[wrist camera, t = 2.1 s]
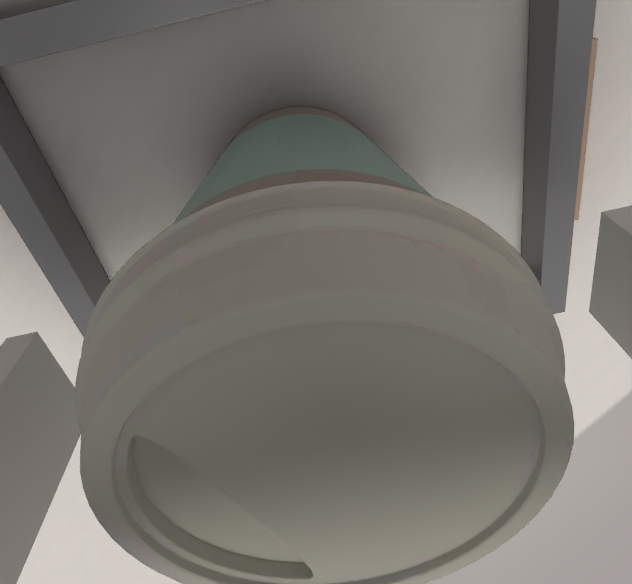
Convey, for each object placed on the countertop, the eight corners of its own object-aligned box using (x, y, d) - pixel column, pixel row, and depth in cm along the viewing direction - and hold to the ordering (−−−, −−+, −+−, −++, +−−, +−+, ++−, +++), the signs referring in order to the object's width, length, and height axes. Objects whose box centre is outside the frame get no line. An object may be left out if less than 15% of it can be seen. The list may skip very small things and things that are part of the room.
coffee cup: (162, 54, 15) (-69, 245, 5) (438, 64, 15) (732, 249, 6) (190, 290, 20) (102, 630, 10) (401, 290, 20) (522, 607, 10)
